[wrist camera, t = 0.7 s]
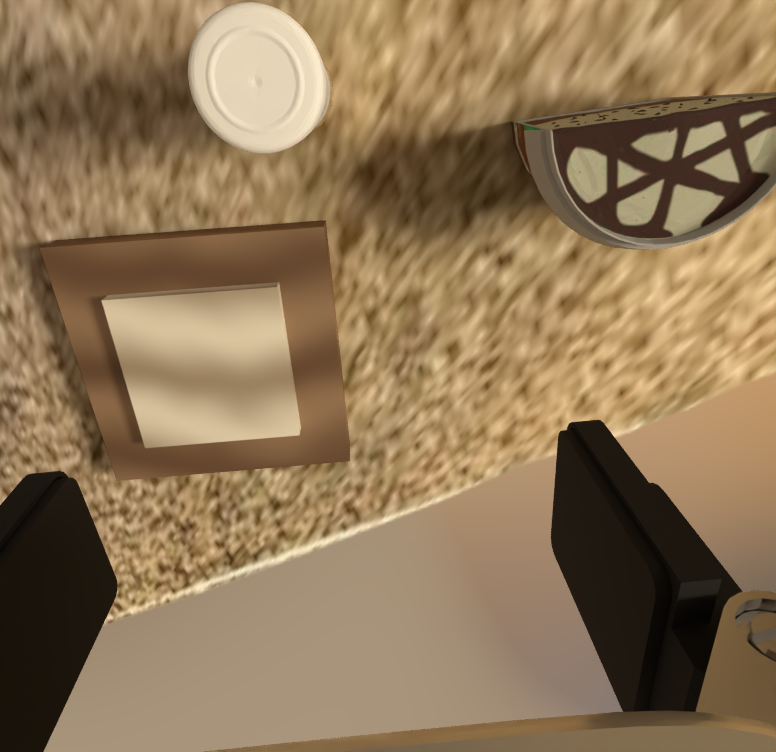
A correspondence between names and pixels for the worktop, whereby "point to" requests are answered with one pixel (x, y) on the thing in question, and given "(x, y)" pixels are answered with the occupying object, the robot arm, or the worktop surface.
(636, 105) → the food container
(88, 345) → the stacking base
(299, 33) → the sprinkles bottle
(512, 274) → the worktop surface
